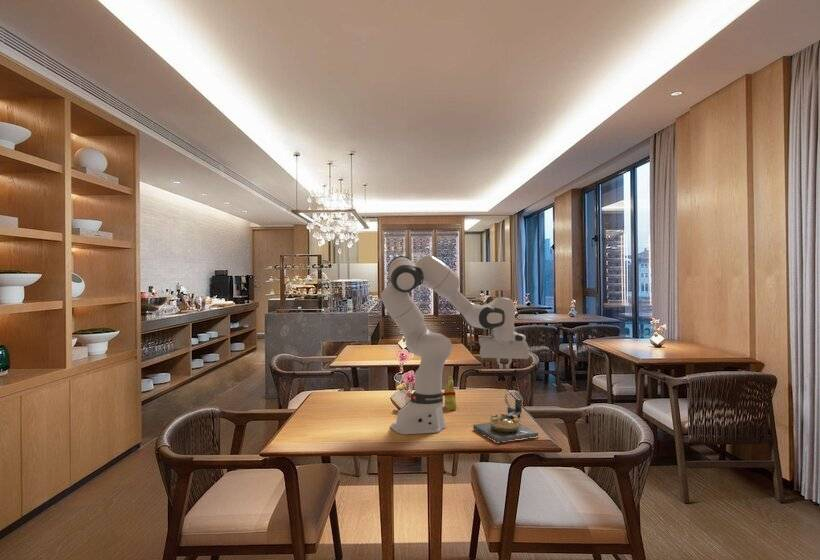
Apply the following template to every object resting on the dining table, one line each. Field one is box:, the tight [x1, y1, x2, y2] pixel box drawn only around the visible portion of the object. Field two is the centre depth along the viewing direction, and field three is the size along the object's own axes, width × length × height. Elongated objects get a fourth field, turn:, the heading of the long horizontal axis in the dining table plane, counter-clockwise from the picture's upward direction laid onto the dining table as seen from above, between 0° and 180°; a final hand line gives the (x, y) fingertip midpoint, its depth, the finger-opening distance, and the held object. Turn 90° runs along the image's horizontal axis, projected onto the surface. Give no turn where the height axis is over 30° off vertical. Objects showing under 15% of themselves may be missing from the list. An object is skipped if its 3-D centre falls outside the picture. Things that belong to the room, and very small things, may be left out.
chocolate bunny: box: [443, 376, 457, 411], centre depth 224 cm, size 7×11×15 cm, turn 8°
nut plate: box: [472, 421, 539, 442], centre depth 186 cm, size 18×18×2 cm
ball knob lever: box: [490, 398, 523, 432], centre depth 189 cm, size 19×11×9 cm, turn 141°
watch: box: [504, 389, 524, 417], centre depth 211 cm, size 6×8×11 cm
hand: (504, 369), depth 198 cm, fingers closed
